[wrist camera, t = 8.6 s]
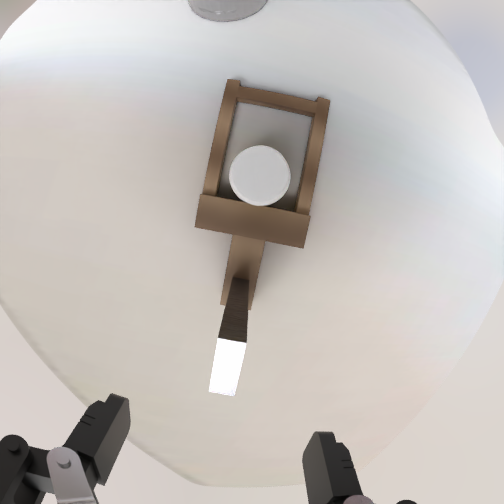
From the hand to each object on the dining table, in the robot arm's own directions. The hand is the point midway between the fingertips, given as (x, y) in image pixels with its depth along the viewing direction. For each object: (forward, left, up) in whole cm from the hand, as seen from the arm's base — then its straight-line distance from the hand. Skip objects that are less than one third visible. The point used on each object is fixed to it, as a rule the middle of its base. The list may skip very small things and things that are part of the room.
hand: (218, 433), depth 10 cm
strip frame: (-9, 0, -20) cm, 21 cm away
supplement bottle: (-11, 0, -20) cm, 23 cm away
